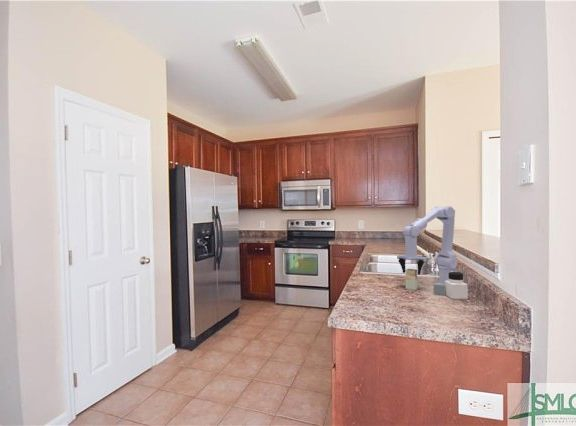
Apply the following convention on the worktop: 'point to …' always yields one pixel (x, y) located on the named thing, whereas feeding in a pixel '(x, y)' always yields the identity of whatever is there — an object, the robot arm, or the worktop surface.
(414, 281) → the sage block
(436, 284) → the slate block
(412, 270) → the maple block
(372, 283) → the worktop surface
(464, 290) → the medicine bottle
